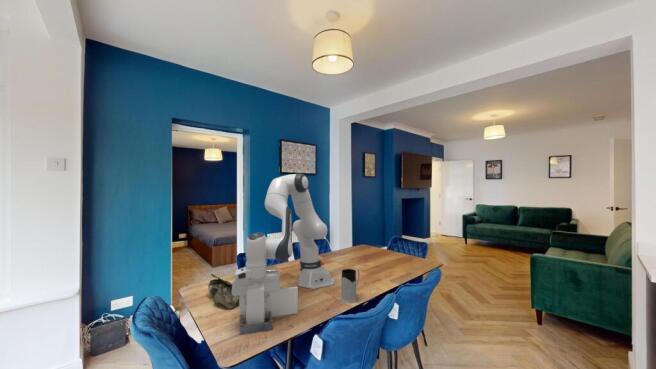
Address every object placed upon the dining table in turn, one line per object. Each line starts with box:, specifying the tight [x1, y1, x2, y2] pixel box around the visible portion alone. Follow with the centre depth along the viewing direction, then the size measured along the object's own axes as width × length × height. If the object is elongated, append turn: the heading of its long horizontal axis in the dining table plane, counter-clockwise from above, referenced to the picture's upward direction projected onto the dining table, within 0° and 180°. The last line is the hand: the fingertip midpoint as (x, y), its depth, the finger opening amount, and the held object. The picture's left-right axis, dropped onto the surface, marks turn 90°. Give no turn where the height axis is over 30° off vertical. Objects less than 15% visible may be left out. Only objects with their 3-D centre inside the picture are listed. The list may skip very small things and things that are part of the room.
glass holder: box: [340, 268, 360, 304], centre depth 142 cm, size 9×14×15 cm, turn 140°
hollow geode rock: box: [207, 273, 239, 309], centre depth 139 cm, size 28×13×15 cm
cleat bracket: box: [239, 311, 274, 336], centre depth 114 cm, size 13×10×3 cm
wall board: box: [238, 286, 299, 323], centre depth 122 cm, size 26×2×12 cm, turn 107°
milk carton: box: [245, 281, 266, 325], centre depth 115 cm, size 7×7×19 cm
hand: (256, 302), depth 115 cm, fingers closed on milk carton, 7 cm apart
